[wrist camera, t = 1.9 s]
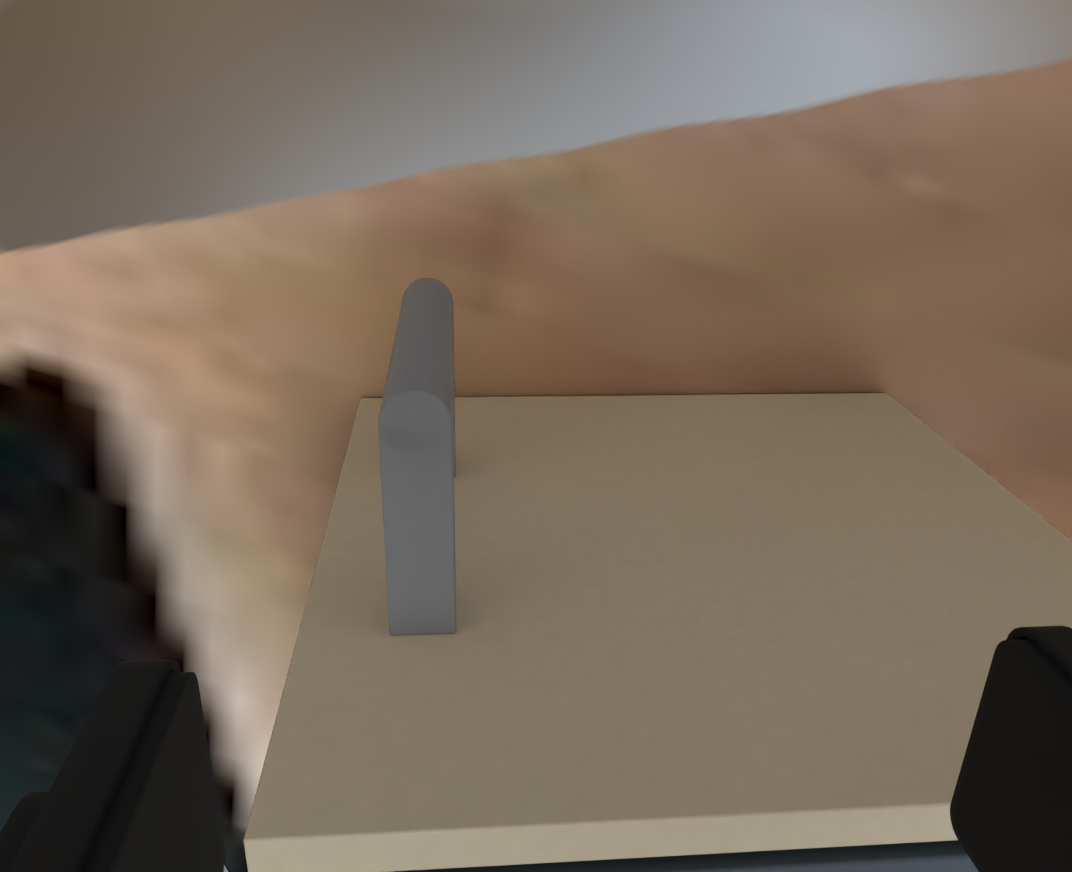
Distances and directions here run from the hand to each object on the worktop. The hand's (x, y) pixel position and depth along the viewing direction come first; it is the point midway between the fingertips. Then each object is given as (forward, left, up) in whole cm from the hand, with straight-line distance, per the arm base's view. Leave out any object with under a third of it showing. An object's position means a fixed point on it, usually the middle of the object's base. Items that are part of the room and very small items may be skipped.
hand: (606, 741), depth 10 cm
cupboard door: (-5, +3, -26) cm, 26 cm away
